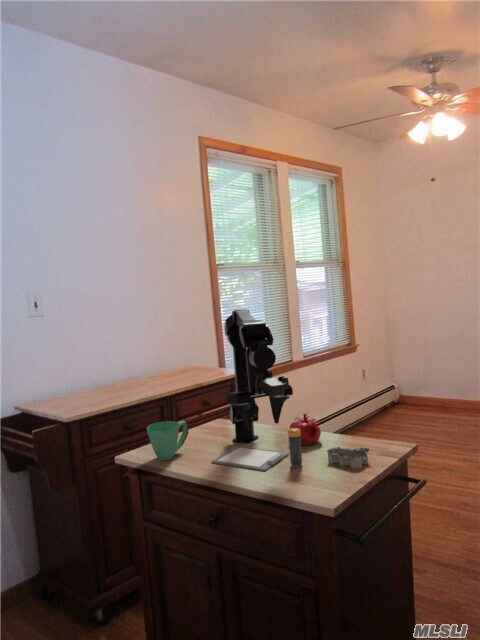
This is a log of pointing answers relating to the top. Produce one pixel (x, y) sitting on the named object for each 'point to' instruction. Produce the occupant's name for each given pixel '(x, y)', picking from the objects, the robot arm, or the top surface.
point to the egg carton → (348, 456)
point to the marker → (295, 447)
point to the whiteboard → (250, 458)
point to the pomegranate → (307, 430)
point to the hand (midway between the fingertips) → (263, 426)
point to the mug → (166, 438)
